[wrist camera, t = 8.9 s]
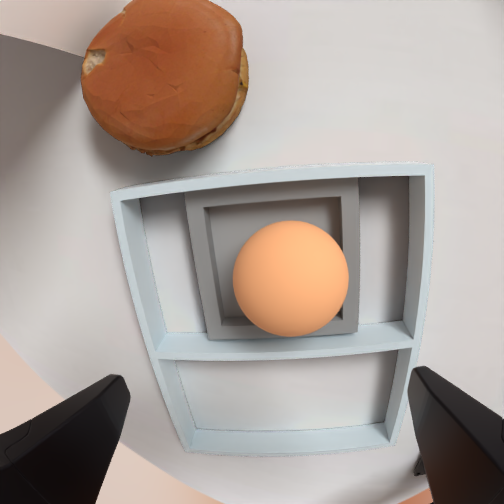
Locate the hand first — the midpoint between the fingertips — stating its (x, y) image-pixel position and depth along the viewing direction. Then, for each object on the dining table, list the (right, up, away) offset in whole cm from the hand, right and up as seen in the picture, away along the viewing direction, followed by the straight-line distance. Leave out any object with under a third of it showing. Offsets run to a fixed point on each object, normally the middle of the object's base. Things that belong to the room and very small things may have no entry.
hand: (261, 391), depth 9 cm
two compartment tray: (+2, -2, +13) cm, 13 cm away
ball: (+1, +3, +11) cm, 11 cm away
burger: (-5, +15, +9) cm, 18 cm away
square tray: (+1, +4, +11) cm, 12 cm away
